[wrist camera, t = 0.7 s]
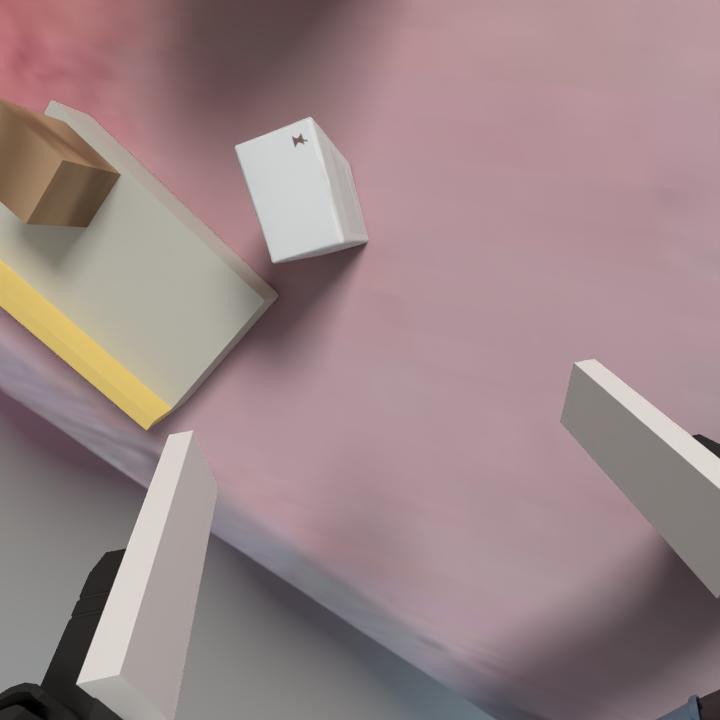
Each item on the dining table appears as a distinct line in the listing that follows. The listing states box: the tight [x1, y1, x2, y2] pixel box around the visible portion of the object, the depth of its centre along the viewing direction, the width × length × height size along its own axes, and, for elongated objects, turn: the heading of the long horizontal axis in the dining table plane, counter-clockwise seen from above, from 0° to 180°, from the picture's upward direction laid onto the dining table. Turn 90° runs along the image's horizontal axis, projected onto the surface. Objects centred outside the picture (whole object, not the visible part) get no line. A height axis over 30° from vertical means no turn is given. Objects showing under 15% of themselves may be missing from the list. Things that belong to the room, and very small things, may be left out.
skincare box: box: [235, 117, 369, 264], centre depth 25 cm, size 6×4×12 cm
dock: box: [0, 100, 279, 430], centre depth 31 cm, size 20×14×6 cm
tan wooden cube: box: [0, 99, 121, 228], centre depth 26 cm, size 5×5×5 cm
